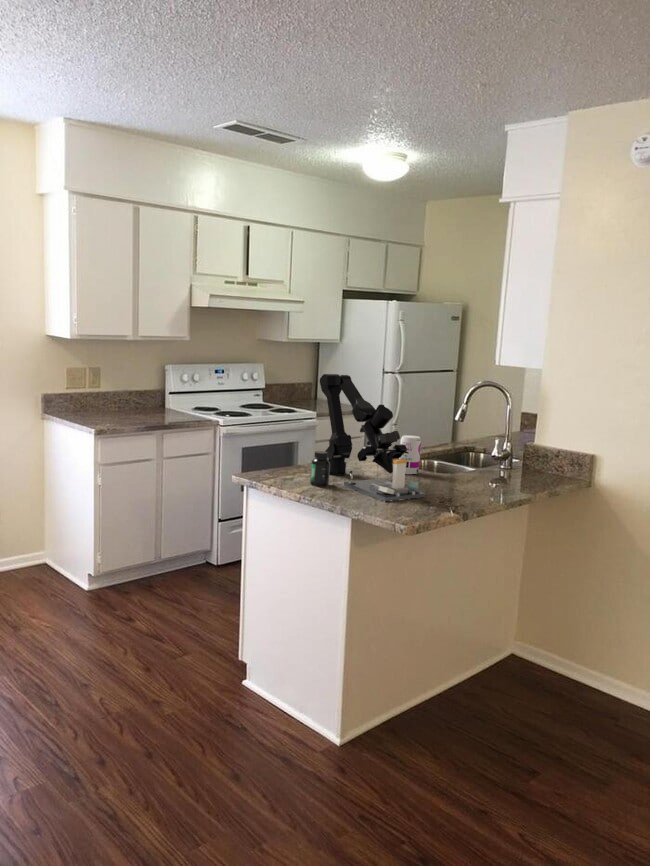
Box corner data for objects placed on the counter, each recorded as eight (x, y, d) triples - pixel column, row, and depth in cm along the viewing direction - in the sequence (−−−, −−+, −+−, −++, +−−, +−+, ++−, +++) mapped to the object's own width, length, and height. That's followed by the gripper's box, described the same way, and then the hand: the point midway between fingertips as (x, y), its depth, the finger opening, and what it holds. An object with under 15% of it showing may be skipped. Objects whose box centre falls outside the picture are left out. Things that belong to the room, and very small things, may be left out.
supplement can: (418, 472, 294) (421, 435, 292) (418, 476, 286) (421, 439, 284) (398, 470, 295) (400, 434, 293) (398, 474, 287) (401, 437, 285)
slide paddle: (387, 490, 252) (390, 458, 250) (398, 489, 254) (400, 458, 252) (396, 493, 247) (399, 461, 246) (407, 492, 250) (410, 460, 248)
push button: (406, 487, 254) (406, 481, 253) (413, 487, 256) (414, 481, 255) (412, 490, 251) (412, 484, 250) (419, 489, 253) (420, 483, 252)
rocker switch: (378, 489, 247) (379, 485, 247) (385, 491, 249) (386, 487, 249) (386, 492, 244) (387, 488, 244) (393, 494, 246) (394, 490, 246)
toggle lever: (350, 480, 260) (348, 470, 261) (352, 480, 261) (351, 470, 262) (351, 479, 259) (350, 470, 260) (354, 479, 260) (352, 469, 261)
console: (343, 485, 262) (344, 479, 262) (382, 482, 272) (383, 475, 272) (384, 502, 242) (385, 494, 242) (425, 497, 252) (426, 490, 252)
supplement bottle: (311, 486, 258) (313, 453, 256) (308, 482, 264) (310, 450, 262) (330, 487, 259) (332, 454, 257) (327, 482, 265) (329, 450, 264)
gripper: (364, 423, 250) (381, 461, 242) (406, 422, 260) (423, 458, 253) (349, 441, 257) (365, 479, 250) (390, 439, 268) (407, 475, 261)
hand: (391, 472), depth 253 cm, fingers closed
